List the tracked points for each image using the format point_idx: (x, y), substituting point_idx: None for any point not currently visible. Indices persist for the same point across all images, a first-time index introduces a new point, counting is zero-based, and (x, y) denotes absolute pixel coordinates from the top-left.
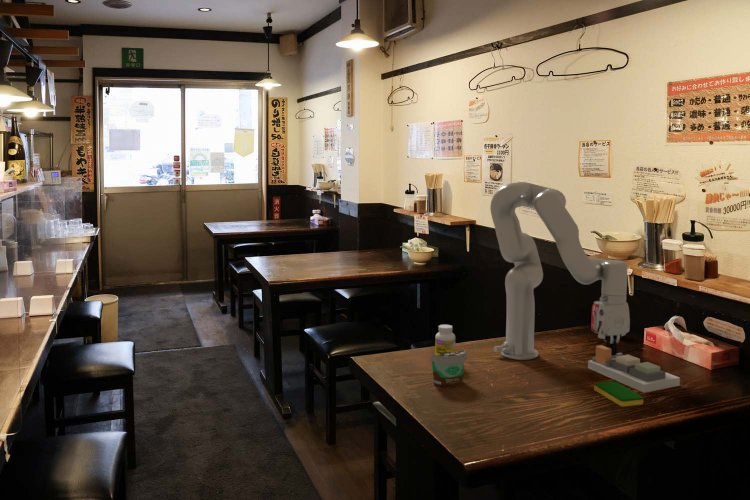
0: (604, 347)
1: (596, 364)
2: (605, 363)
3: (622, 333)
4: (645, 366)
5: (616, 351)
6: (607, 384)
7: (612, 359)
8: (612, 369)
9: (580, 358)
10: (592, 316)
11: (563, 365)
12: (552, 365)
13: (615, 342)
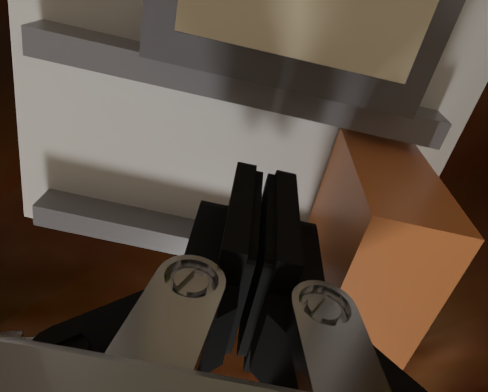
0: (378, 299)
1: None
2: (441, 139)
3: (113, 361)
4: None
5: (242, 181)
6: None
7: (185, 199)
8: (476, 22)
9: (230, 360)
10: None
11: (431, 355)
12: (478, 385)
13: (213, 284)
